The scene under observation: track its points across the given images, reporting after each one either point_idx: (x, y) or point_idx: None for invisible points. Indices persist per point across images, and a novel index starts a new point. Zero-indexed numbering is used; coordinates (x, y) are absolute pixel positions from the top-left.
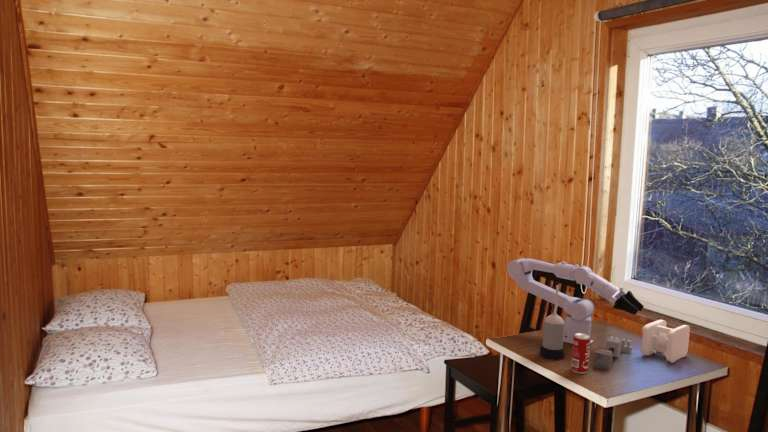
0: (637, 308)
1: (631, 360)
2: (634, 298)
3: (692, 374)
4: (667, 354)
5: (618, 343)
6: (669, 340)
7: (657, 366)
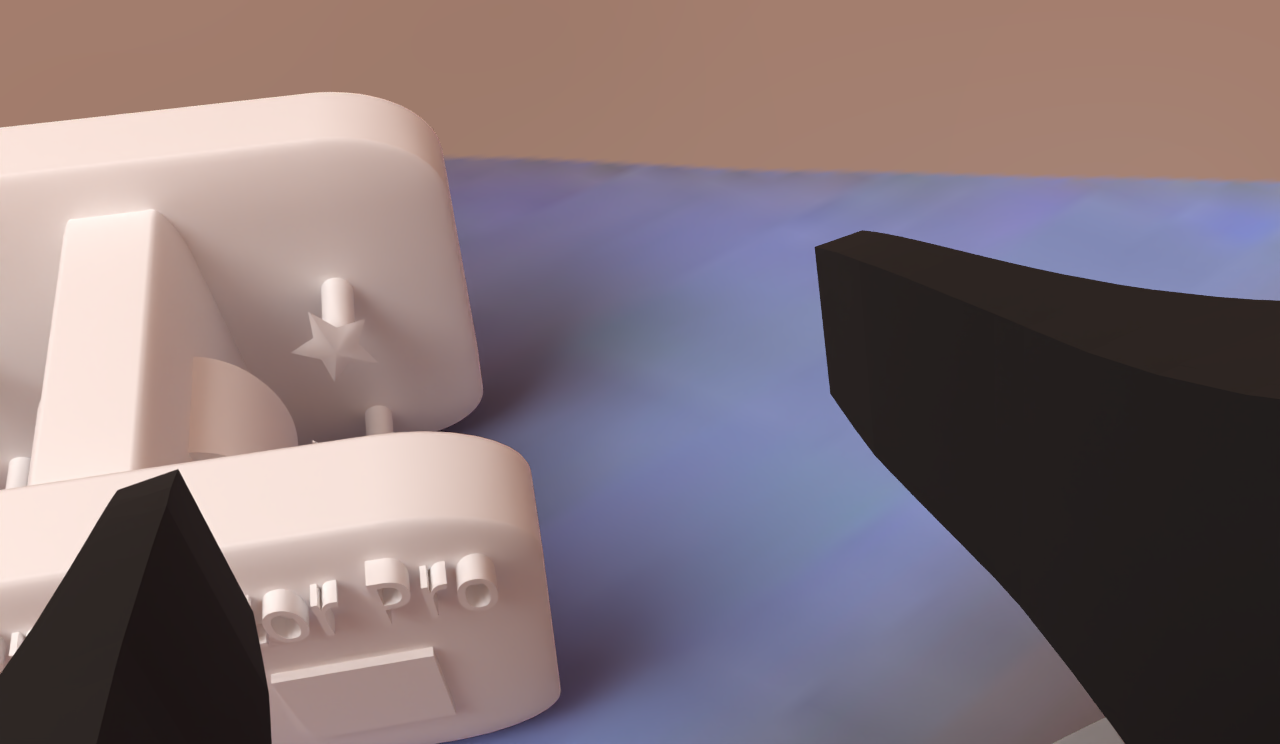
0: (250, 682)
1: (814, 692)
2: (100, 723)
3: (539, 174)
4: (476, 359)
5: (1103, 718)
6: (453, 219)
7: (673, 424)
